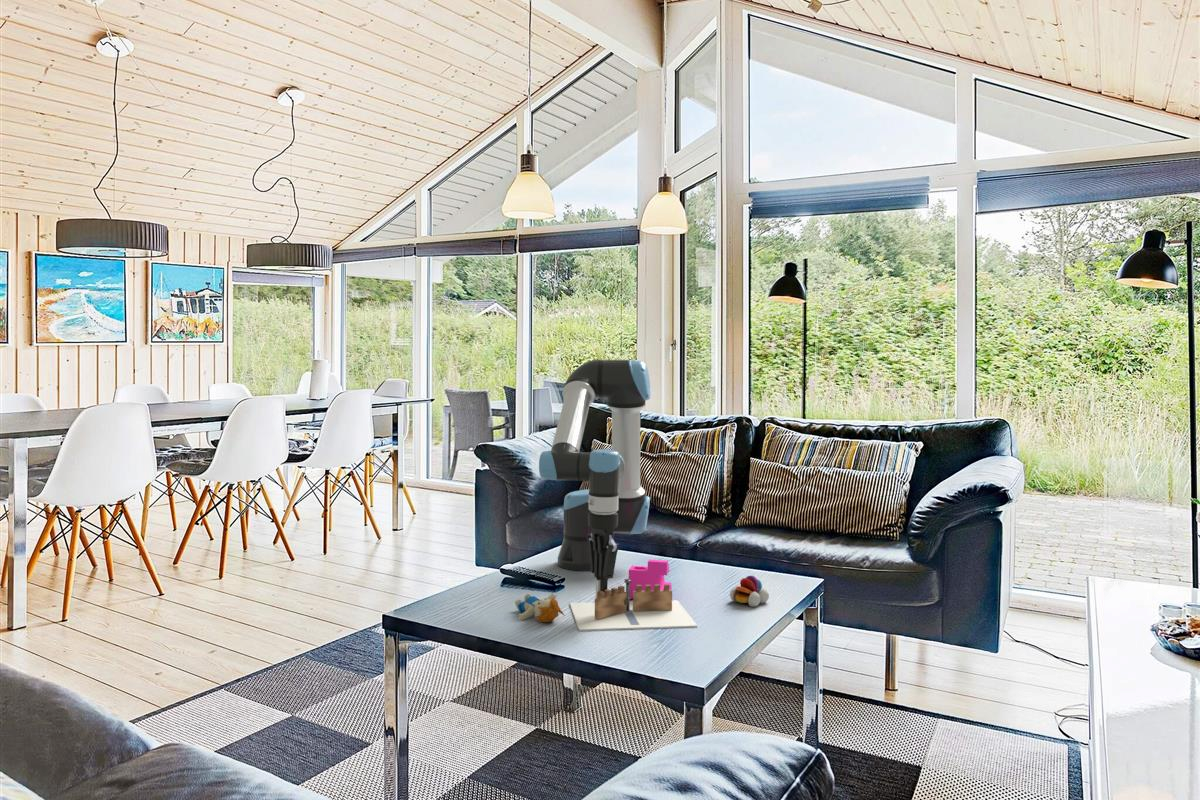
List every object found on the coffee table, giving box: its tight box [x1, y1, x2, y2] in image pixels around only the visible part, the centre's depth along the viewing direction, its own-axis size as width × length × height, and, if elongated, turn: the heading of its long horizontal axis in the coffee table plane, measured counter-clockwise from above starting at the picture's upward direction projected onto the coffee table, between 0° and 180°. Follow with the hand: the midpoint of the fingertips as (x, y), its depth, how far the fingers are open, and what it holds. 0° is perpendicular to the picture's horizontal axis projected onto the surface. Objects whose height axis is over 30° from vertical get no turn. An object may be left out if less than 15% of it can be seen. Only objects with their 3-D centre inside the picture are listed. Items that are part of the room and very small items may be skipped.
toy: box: [514, 592, 566, 623], centre depth 215 cm, size 12×6×15 cm
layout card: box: [569, 599, 698, 632], centre depth 217 cm, size 21×29×1 cm
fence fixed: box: [632, 584, 673, 611], centre depth 220 cm, size 10×1×7 cm, turn 98°
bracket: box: [628, 559, 673, 599], centre depth 235 cm, size 12×10×10 cm
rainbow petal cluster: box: [729, 575, 770, 608], centre depth 230 cm, size 8×10×7 cm
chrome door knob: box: [624, 578, 632, 611], centre depth 219 cm, size 2×2×8 cm
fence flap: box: [594, 585, 628, 620], centre depth 215 cm, size 10×2×7 cm, turn 133°
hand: (601, 603), depth 216 cm, fingers closed
